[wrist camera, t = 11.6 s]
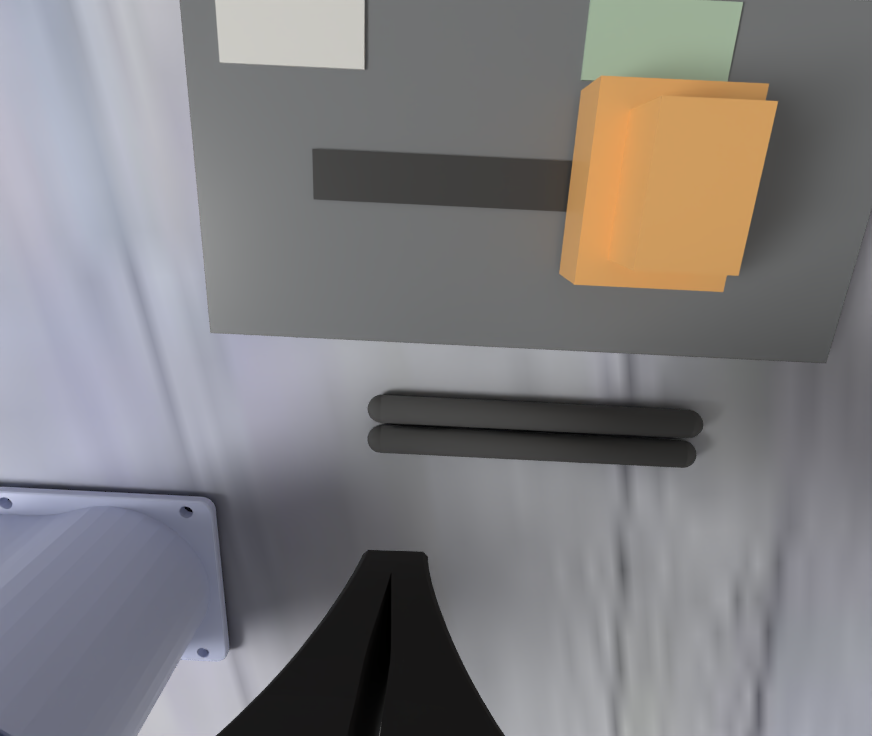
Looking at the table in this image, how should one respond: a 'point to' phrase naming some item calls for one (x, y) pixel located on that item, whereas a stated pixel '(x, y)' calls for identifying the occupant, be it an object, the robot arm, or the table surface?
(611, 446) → the cord bundle
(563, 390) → the table surface
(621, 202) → the breaker toggle
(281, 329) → the breaker panel
